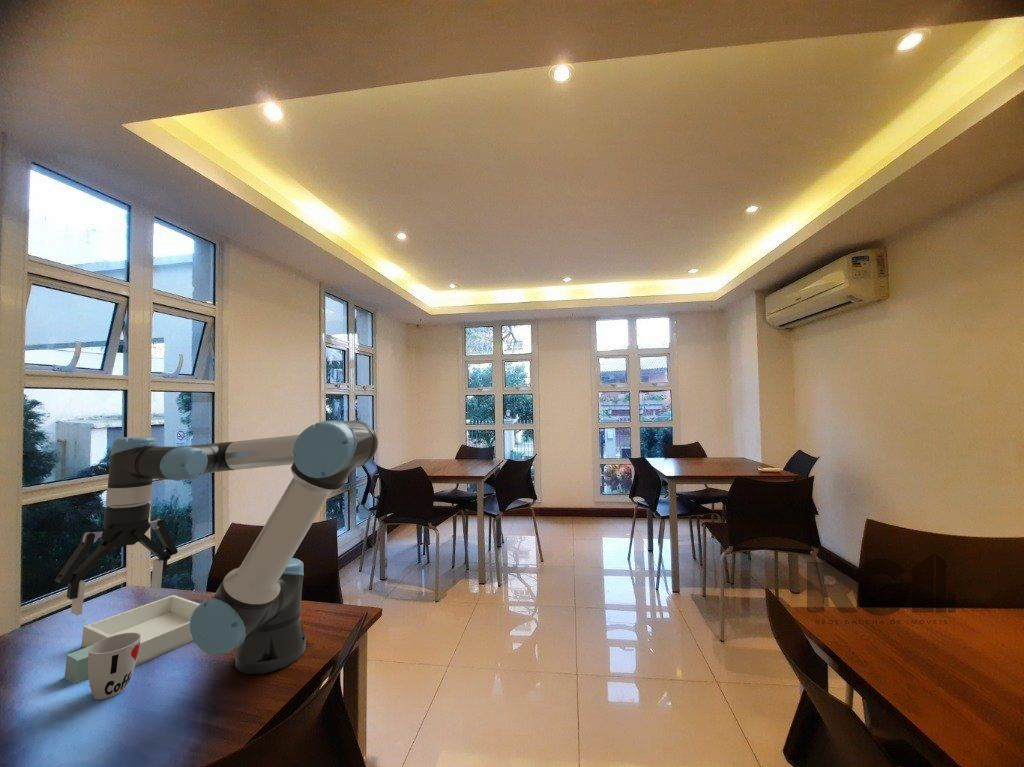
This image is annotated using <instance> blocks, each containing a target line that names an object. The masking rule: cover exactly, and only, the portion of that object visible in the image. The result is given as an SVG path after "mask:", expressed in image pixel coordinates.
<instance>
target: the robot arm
mask: <svg viewBox="0 0 1024 767" xmlns="http://www.w3.org/2000/svg"><path fill="white" fill-rule="evenodd" d="M378 444H379V440H378V437H377V434H376V432H375V429H373V427H371V425H369V424H367V423H366V422H363V421H360V420H335V419H334V420H333V419H330V420H329V419H328V420H325V421H321V422H317V423H314V424H311V425H310V426H307V427H306V428H305V429H303V430H302V431H301V433H300V434H293V435H284V436H274V437H273V436H271V437H265V438H263V437H262V438H257V439H256V438H255V439H254V438H253V439H246V440H237V441H223V442H214V443H207V444H206V443H205V444H204V443H203V444H191V445H179V446H178V445H177V446H158V444H157V438H155V437H154V436H127V437H126V436H124V437H118V438H115V439H114V440H113V442H112V446H111V450H110V455H109V466H108V467H109V468H108V478H107V487H106V497H105V498H106V499H105V505H106V506H107V507H105V508H104V514H103V515H104V516H103V527H102V529H101V531H94V532H93V531H92V532H90V531H85V532H83V533H82V535H81V539H80V543H79V544H78V545H77V547H76V549H75V550H74V551H73V553H72V554H71V555H70V556H69V559H68V560H67V561H66V563H65V564H64V565H63V568H62V569H61V570H60V572H58V574H57V575H56V577H55V579H54V581H55V582H57V583H59V584H62V585H64V584H67V590H66V598H67V599H68V600H70V601H71V607H70V609H71V610H70V614H73V615H75V616H80V615H82V614H83V607H84V598H85V597H84V596H85V589H86V581H84V580H83V579H84V578H85V577H86V576H87V575H88V574H89V573H90V572H91V570H92V569H94V567H95V566H96V565H97V564H98V563H99V562H100V561H101V560H102V559H103V558H104V557H105V556H106V555H107V554H108V553H110V552H111V551H112V550H114V549H115V548H116V549H120V548H124V547H126V546H134V545H136V543H140V544H141V545H142V546H143V547H144V548H146V549H147V550H148V551H149V552H151V553H152V554H153V555H155V557H157V558H156V559H153V561H152V572H151V583H150V588H152V589H154V590H160V589H162V579H163V573H166V572H167V568H168V560H170V559H171V556H174V555H176V554H178V552H179V551H178V549H177V547H176V545H175V543H174V541H173V540H172V538H171V536H170V534H169V532H168V531H167V529H166V520H165V519H160V518H154V520H152V521H149V519H150V512H151V511H150V510H151V503H149V502H150V501H151V500H152V491H153V490H152V489H153V480H165V481H166V480H167V481H168V480H170V481H176V482H177V481H178V482H179V481H189V480H190V481H191V480H194V479H197V478H198V477H199V476H201V475H206V474H212V473H219V472H229V471H236V470H237V471H239V470H247V469H248V470H250V469H257V468H270V467H278V466H279V467H280V466H290V472H291V474H292V476H293V477H292V479H291V480H290V482H289V484H288V485H287V488H286V489H285V490H284V493H283V494H282V496H281V497H280V499H279V500H278V503H277V504H276V506H275V507H274V509H273V511H272V512H271V514H270V516H269V518H268V519H267V521H266V522H265V524H264V526H263V528H262V529H261V531H260V533H259V534H258V536H257V537H256V539H255V541H254V542H253V544H252V545H251V547H250V549H249V551H248V552H247V554H246V556H245V557H244V559H243V561H242V563H241V564H240V566H239V567H236V568H233V569H232V570H230V571H229V572H228V573H227V574H226V575H225V576H224V578H223V580H222V581H221V582H220V584H219V587H218V588H217V589H216V591H215V593H214V594H213V596H211V597H210V598H207V599H205V600H203V601H202V602H201V603H199V604H200V605H199V606H198V607H197V608H196V609H195V610H194V612H193V613H192V616H191V619H190V632H191V634H192V638H193V642H194V643H195V645H196V646H197V648H199V649H200V650H202V651H203V652H205V653H207V654H209V655H215V656H218V655H219V656H220V655H225V654H227V653H229V652H231V651H232V650H234V649H236V648H238V649H237V650H236V654H235V661H234V662H235V663H234V665H235V666H234V667H235V669H236V670H237V671H238V672H239V673H242V674H248V675H259V674H266V673H271V672H274V671H277V670H280V669H283V668H285V667H287V666H289V665H291V664H293V663H295V661H297V660H298V659H299V658H300V657H302V655H303V654H304V652H305V651H306V645H307V644H306V642H307V639H306V638H307V637H306V634H305V630H304V627H303V624H302V620H301V608H302V599H303V598H302V597H303V584H304V583H303V582H304V575H305V573H304V562H303V561H302V560H300V559H298V558H294V555H295V553H296V551H298V548H299V547H300V545H301V543H302V542H303V540H304V539H305V537H306V535H307V534H308V532H309V530H310V528H311V526H312V525H313V524H314V521H315V520H316V518H317V517H318V515H319V513H320V511H321V509H323V506H324V505H325V503H326V501H327V499H328V498H329V496H330V494H331V493H333V492H336V491H339V490H341V489H342V487H343V486H344V485H345V483H346V481H347V479H348V477H349V476H350V474H351V472H352V471H353V470H354V469H356V468H357V469H358V468H359V467H362V466H364V465H366V464H367V463H369V462H370V461H371V460H372V459H374V458H373V457H374V456H375V455H376V453H377V450H378ZM150 528H151V529H152V530H153V531H154V533H155V534H156V536H157V538H158V539H159V541H160V544H161V545H162V546H163V548H164V549H162V548H161V547H160V546H158V545H157V543H155V542H154V541H153V540H152V539H151V538H149V537H148V536H147V535H146V533H147V532H148V531H149V529H150ZM99 538H101V539H102V541H101V543H99V544H98V545H97V547H96V549H95V550H94V551H93V552H92V553H91V554H90V555H89V556H88V557H87V558H86V559H85V557H86V555H88V553H89V552H90V550H91V548H92V547H93V545H94V543H96V542H97V540H98V539H99ZM84 559H85V560H84ZM83 560H84V561H83Z"/></svg>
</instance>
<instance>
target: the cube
mask: <svg viewBox="0 0 1024 767" xmlns="http://www.w3.org/2000/svg"><path fill="white" fill-rule="evenodd" d="M91 646H92V645H91ZM91 646H89V647H86V648H81V649H78V650H77V651H73V652H70V653H67V654H66V661H65V662H66V663H65V668H64V677H63V678H64V679H65V680H67V681H69V682H70V683H73V684H74V685H77V684H79V683H81V682H83V681H86V680H89V676H88V650H89V648H90V647H91Z"/></svg>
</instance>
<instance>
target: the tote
mask: <svg viewBox="0 0 1024 767" xmlns="http://www.w3.org/2000/svg"><path fill="white" fill-rule="evenodd" d="M200 604H201V603H198V602H196V601H194V600H190V599H187V598H183V597H181V596H179V595H175V594H172V595H169V596H167V597H163V598H161V599H158V600H156V601H152V602H149V603H147V604H143V605H140V606H138V607H134V608H132V609H129V610H127V611H124V612H121V613H118V614H115V615H111V616H109V617H106V618H104V619H101V620H98V621H95V622H91V623H89V624H86V625H83V627H82V636H81V637H82V638H81V645H80V646H81V649H84V648H86V647H89V646H91V645H93V644H95V643H97V642H99V641H101V640H103V639H105V638H108V637H111V636H114V635H118V634H123V633H131V632H135V633H139V634H141V640H140V646H139V652H138V657H137V660H136V664H135V667H134V668H136V667H138V666H140V665H143V664H145V663H147V662H149V661H151V660H153V659H155V658H157V657H158V658H159V657H160V656H162V655H165V654H166V653H168V652H172V651H173V650H176V649H178V648H180V647H182V646H184V645H186V644H188V643H191V642H194V640H193V638H192V634H191V632H190V619H191V616H192V613H193V612H194V610H195V609H196V608H197V607H198V606H199V605H200Z"/></svg>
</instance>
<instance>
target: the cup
mask: <svg viewBox="0 0 1024 767" xmlns="http://www.w3.org/2000/svg"><path fill="white" fill-rule="evenodd" d="M140 640H141V634H139V633H135V632H131V633H123V634H118V635H114V636H111V637H108V638H105V639H103V640H101V641H99V642H97V643H95V644H93V645H92V646H91V647H90V648H89V650H88V676H89V678H88V681H89V688H90V690H91V691H90V692H91V694H92V696H93V698H94V700H104V699H109V698H112V697H114V696H117V695H119V694H121V693H122V692H123V691H125V690H126V688H127V687H128V685H129V682H130V680H131V678H132V676H133V674H134V671H135V668H136V667H135V664H136V660H137V657H138V652H139V646H140Z"/></svg>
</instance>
